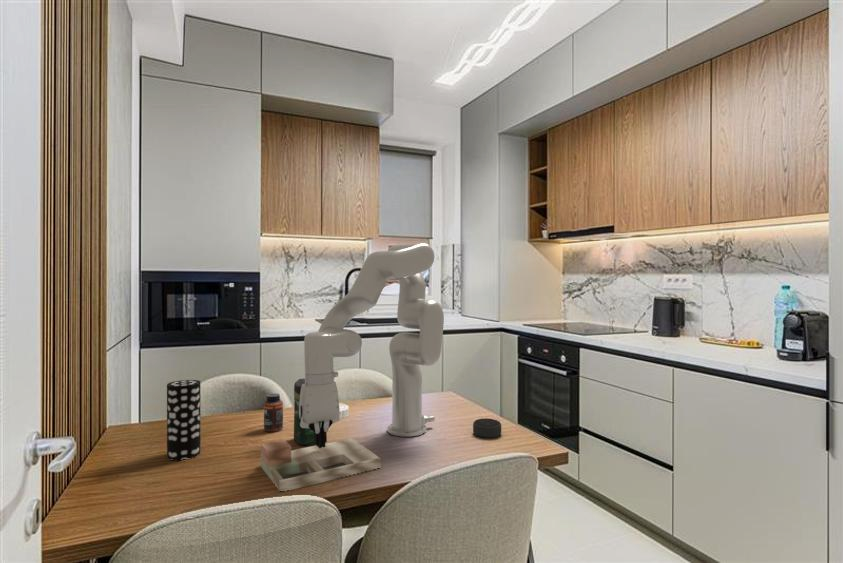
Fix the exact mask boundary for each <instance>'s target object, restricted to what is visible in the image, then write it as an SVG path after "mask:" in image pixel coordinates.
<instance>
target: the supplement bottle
mask: <svg viewBox="0 0 843 563" xmlns="http://www.w3.org/2000/svg"><path fill="white" fill-rule="evenodd" d="M283 428H284V403H283V401H282V400H281V396H280V393H269V394H267V395H266V401H264V404H263V430H264V431H265V432H268V433H274V432H279V431H281V430H283Z"/></svg>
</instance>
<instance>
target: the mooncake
mask: <svg viewBox="0 0 843 563" xmlns="http://www.w3.org/2000/svg"><path fill="white" fill-rule="evenodd" d="M339 409H340V412H339V420H342V419H345V418H347V417H346V416H349V415H348V414H350V412H349V411H350V407H349V405H347V404H345V403H341V402H339ZM344 417H345V418H344ZM341 418H342V419H341Z"/></svg>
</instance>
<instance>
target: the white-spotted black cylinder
mask: <svg viewBox="0 0 843 563" xmlns="http://www.w3.org/2000/svg"><path fill="white" fill-rule="evenodd" d="M201 399H202V398H201V380H197V379H183V380H176V381H170V382H168V383H166V459H167V458H168V459H167V460H169V459H173V460H181V459H187V458H191V459H193V458H192V457H194V458H196V457H195V456H197V455H198V456H200V455H201V453H200V452H201V449H202V448H201V443H202V442H201V438H202V437H201V432H202V431H201V430H202V429H201V425H202V424H201V421H202V419H201V411H202V410H201V406H202V405H201ZM199 454H200V455H199ZM198 456H197V457H198Z"/></svg>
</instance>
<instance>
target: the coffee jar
mask: <svg viewBox="0 0 843 563" xmlns="http://www.w3.org/2000/svg"><path fill="white" fill-rule="evenodd" d="M302 384H305V378H299V379H298V380H296V381H295V382H294V385H293V396H294V399H293V400H294V401H293V402H294V403H293V405H294V406H293V407H294V409H293V418H294V419H293V439H294V441H295V443H297V444H298V445H300V446H301V445H303V446H306V445H307V446H314V445H315V444H314V431H313V430H311V429H310V428H302V427H301V426H300V422H301V419H300V418H299V402H300V392H301V387H302ZM318 423H319V428H320V427H321V422H318Z"/></svg>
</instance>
